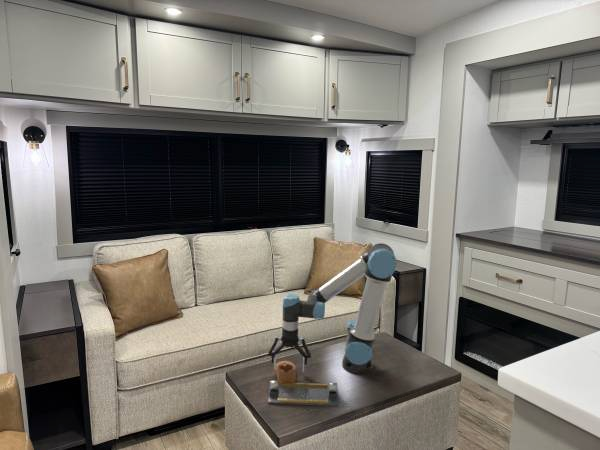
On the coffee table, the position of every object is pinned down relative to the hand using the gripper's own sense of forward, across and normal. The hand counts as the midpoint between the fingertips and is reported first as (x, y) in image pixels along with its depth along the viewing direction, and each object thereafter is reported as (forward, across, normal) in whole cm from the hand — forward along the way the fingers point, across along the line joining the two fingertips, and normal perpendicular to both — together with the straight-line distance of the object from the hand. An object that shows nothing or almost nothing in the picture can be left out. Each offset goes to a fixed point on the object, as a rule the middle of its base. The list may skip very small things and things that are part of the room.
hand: (289, 369), depth 194 cm
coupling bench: (+2, -8, +17) cm, 19 cm away
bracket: (+3, +2, +1) cm, 3 cm away
